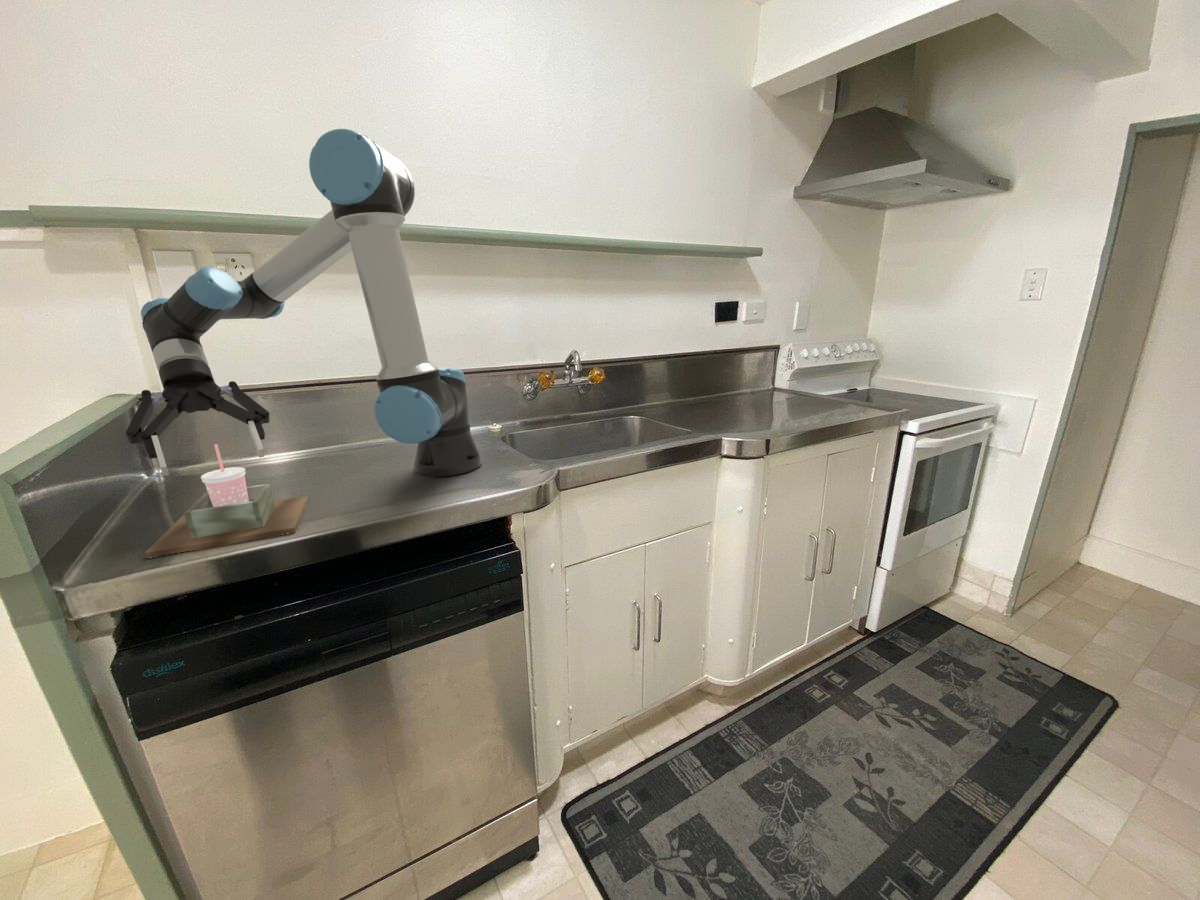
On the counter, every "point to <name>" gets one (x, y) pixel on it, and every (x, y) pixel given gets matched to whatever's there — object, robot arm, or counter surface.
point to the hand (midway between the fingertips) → (215, 462)
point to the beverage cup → (226, 484)
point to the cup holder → (231, 522)
